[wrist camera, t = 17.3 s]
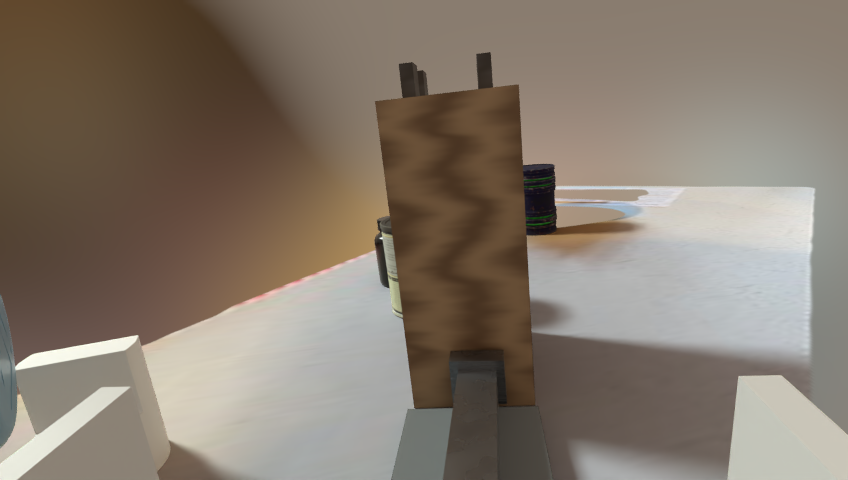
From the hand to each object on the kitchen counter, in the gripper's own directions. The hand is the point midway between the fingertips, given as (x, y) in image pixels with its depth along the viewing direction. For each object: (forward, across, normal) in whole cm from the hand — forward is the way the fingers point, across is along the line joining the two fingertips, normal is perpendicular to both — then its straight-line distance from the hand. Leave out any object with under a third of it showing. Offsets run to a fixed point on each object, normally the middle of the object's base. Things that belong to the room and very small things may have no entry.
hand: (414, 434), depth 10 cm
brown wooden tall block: (+39, 0, -22) cm, 45 cm away
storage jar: (+99, +14, -23) cm, 103 cm away
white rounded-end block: (+23, -33, -23) cm, 46 cm away
